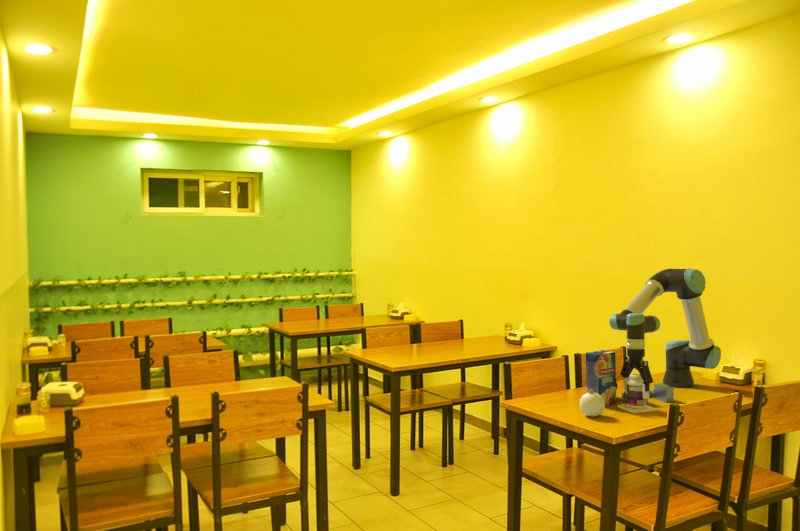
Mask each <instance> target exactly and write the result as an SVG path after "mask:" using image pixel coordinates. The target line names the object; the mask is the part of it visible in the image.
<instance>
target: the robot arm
mask: <svg viewBox="0 0 800 531" xmlns="http://www.w3.org/2000/svg"><path fill="white" fill-rule="evenodd" d="M706 283H707V282H706V277H705V276H704V274H703V272H701V270H699V269H696V268H666V269H662V270H660V271H658V272H657V273H655V274H653V275H652V276H651V277H650V278H648V280H646V281H645V283H644V286H643V288H642V289H641V290H640V291H639V292H638V294H636V296H634V297H633V299H632V300H631V301H630V302H629V303H628V304H627V305H626V306H625V308H623V309H622V310H621V312H619V313H612V314H611V315H610V317H609V320H608V322H609V326H610V328H611V329H612V330H616V331H617V330H618V331H626V346H627V348H626V355H627V356H624V359H623V364H622V368H621V370H620V373H619V374H620V376H622V378H623V388H624V389H623V393H624V392H626V393H627V381H628V380H630V375H631V374H632V372H633V370H634V369H635V370H636V371H638V374H640V375H641V378H642V380H643V382H644V383H643V399H646V398H648V399H650V397H649V391H650V384H652V383H653V384H654V380H653V377H652V373H651V371H650V367H649V361H648V360H644V358H645V357H646V349H645V347H646V343H645V342H646V338H645V337H646V336H645V334H649V333H654V332H657V331H659V329H660V327H661V320H660V319H659V317H657V316H656V315H644V312H645V311H646V309H648V307H650V305H651V304H652V303H653V302H654V301H655V299H657V297H660V296H662V295H663V294H665V293H675V294H676V297H677V299H678V300H681V304H682V308H683V312H684V317H685V321H686V325H687V329H688V334H689V340H688V339H681V340H680V339H679V340H671V341H668V342H666V344H665V372H664V375H663V378H662V384H666V385H669V386H672V387H675V388H692V387H694V386H695V381H694V378H693V375H692V372H691V367H694V368H701V369H706V370H707V369H711V370H713V369H715V368H717V367H718V366H719V365H720V362H721V358H722V350H721V348H720V347H719V346H718V345H715V342H714V340H713V339H712V338H710V335H709V330H708V327H707V321H706V318H705V313H704V309H703V303H702V299H701V296H702V295H703V293H704V291H705V289H706Z"/></svg>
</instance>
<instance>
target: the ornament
mask: <svg viewBox="0 0 800 531" xmlns="http://www.w3.org/2000/svg"><path fill="white" fill-rule="evenodd" d="M579 408H580V411H582V413H583V414H584V415H586V416H588V417H591V418H592V417H598V416H601V415H602V414H603V413H604V411H605V409H606V406H605V402H604V399H603V398H602V396H601V395H599V394H597V393H594V391H593V389H590V391H589V393H586V392H585V393H584V394H582V396H581V397H580V400H579Z"/></svg>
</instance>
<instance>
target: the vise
mask: <svg viewBox="0 0 800 531" xmlns="http://www.w3.org/2000/svg"><path fill="white" fill-rule="evenodd" d="M674 389H675V388H674V387H672V386H669V385H666V384H663V382H662V383H660V382H659V383H658V382H657V383H653V389H652V390H650V391H649V398H653V399H655V400H658V401H660V402H664V403H674V402H675V396H674V395H675V394H674V393H675V392H674V391H675V390H674ZM649 398H646V405H649ZM621 399H623V401H624V402H627V392H624V391H623V392H621Z"/></svg>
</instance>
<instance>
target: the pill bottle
mask: <svg viewBox="0 0 800 531" xmlns="http://www.w3.org/2000/svg"><path fill="white" fill-rule="evenodd" d="M629 378H630V380H628V381H627V392H626V393H627V400H626V404H627V405H628V406H629V407H630V408H636V409H642V408H645V407H646V405H647V404H646V399H643V383H644V382H643V380H642V378H641V375H640V373H631V374H630V376H629Z"/></svg>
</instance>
